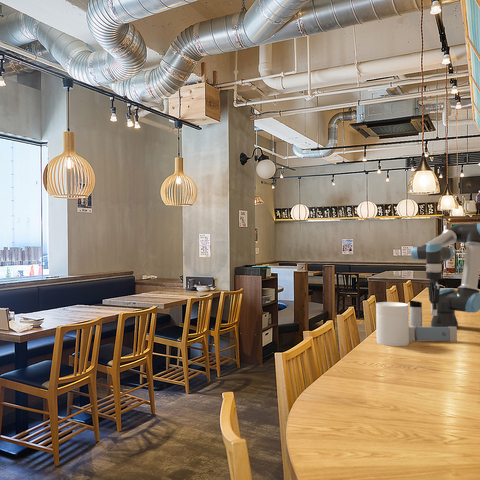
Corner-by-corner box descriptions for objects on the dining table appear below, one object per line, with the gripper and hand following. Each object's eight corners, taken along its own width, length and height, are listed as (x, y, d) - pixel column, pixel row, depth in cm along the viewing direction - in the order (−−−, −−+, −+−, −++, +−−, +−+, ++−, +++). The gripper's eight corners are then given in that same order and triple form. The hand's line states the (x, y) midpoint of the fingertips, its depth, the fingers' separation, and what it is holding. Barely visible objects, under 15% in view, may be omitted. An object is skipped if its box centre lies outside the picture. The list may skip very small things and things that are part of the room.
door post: (412, 340, 235) (412, 326, 235) (414, 341, 232) (414, 327, 232) (406, 340, 236) (406, 326, 236) (408, 341, 233) (408, 327, 233)
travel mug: (407, 335, 246) (407, 299, 246) (418, 335, 247) (418, 299, 247) (412, 338, 240) (412, 301, 240) (424, 337, 241) (424, 301, 241)
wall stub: (455, 340, 233) (455, 326, 233) (456, 341, 231) (456, 327, 231) (448, 340, 233) (448, 326, 233) (449, 341, 231) (449, 327, 231)
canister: (413, 342, 231) (413, 303, 231) (401, 347, 220) (400, 307, 220) (384, 337, 242) (384, 301, 242) (371, 343, 230) (370, 304, 231)
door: (447, 340, 233) (447, 326, 233) (449, 341, 230) (449, 327, 230) (414, 340, 234) (413, 326, 234) (415, 341, 232) (415, 327, 232)
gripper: (422, 270, 247) (423, 313, 246) (430, 272, 234) (431, 317, 233) (436, 271, 246) (436, 313, 246) (445, 272, 233) (445, 317, 233)
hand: (434, 315), depth 239 cm, fingers closed
